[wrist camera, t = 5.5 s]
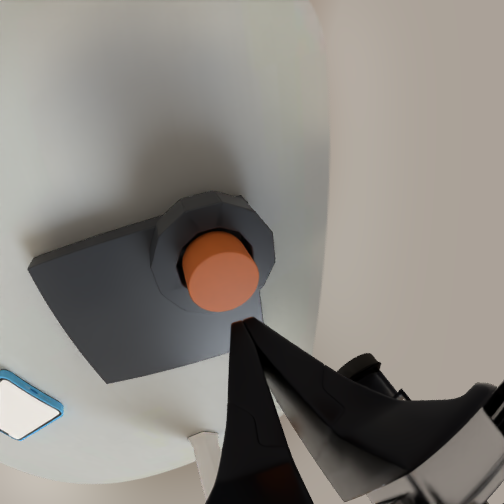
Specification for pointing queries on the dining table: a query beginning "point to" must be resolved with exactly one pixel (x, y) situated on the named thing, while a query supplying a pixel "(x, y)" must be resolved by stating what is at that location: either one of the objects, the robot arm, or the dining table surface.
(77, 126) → the dining table surface
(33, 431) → the smartphone
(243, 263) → the button
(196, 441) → the perfume bottle
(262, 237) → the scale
